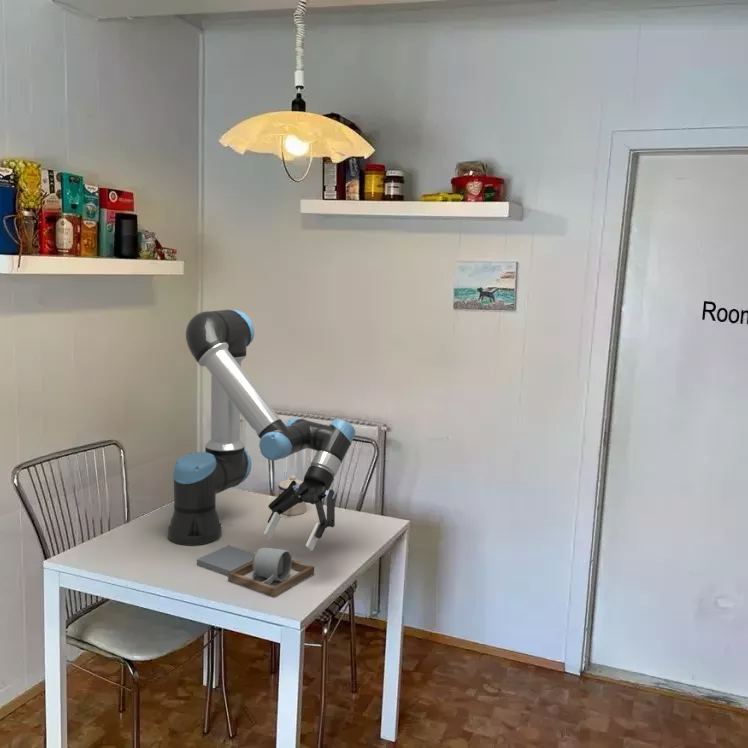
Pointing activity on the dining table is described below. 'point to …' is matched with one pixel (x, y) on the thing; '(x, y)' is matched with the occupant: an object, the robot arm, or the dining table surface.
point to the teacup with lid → (283, 486)
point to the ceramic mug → (271, 564)
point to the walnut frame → (264, 588)
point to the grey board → (226, 559)
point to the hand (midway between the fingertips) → (287, 542)
